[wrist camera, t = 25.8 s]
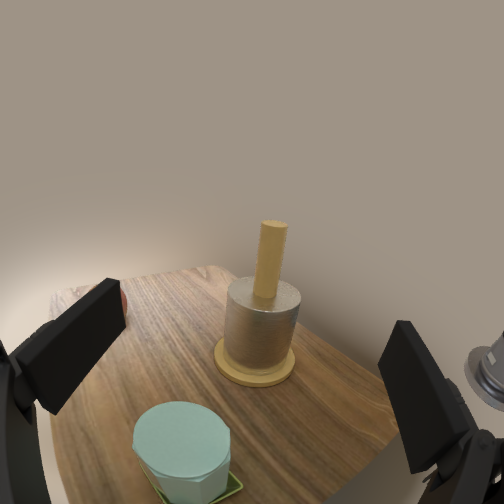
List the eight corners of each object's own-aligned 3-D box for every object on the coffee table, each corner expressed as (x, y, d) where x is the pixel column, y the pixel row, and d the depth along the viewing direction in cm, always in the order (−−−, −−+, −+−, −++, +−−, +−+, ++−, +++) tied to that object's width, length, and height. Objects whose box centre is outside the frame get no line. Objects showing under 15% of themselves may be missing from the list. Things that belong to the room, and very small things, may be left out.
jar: (226, 508, 17) (231, 481, 14) (148, 499, 17) (124, 466, 13) (225, 451, 25) (230, 405, 21) (157, 444, 24) (143, 395, 21)
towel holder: (300, 387, 39) (340, 244, 31) (212, 385, 38) (220, 233, 29) (286, 336, 52) (310, 217, 44) (215, 332, 51) (224, 208, 43)
